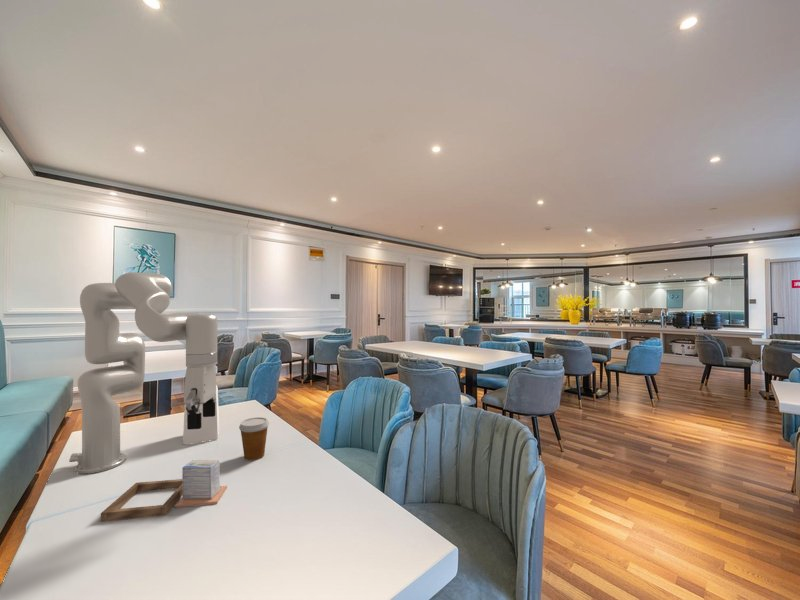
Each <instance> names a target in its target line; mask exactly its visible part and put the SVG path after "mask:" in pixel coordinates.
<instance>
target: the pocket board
mask: <svg viewBox="0 0 800 600" xmlns="http://www.w3.org/2000/svg"><path fill="white" fill-rule="evenodd" d="M175 489H176V490H175ZM163 490H165V491H166V490H175V491H174V492H173V493H172V494H171V496H170V497H168V499H166V501H165V502H164V503H163V504H158V505H147V506H146V505H145V506H136V507H128V508H127V507H126V508H124V507H123V506H124V505H125V504H126V503H128V502H129V501H130V500H131V499H132V498H133V497H134V496H135V495H137V494H138V493H140V492H150V491H163ZM182 497H183V479H182V478H177V479H176V478H175V479H166V480H165V479H163V480H155V481H152V480H151V481H143V482H142V481H140V482H135V483H134V484H132V486H131V487H129V488H128V489H127V490H126V491H125V492H124V493H122V494H121V495H120V496H119V497H118V498H117V499H116V500H115V501H113V502H112V503H110V504H109V506H107V508H105V509H104V510H102V512H100V522H109V521H119V520H120V521H121V520H131V519H141V518H142V519H143V518H152V517H162V516H167V515H168V513H169V512H170V511H171V510H172V509H173V508H174V507H175V506H176V504H177V503H178V502H179V500H180V499H181V498H182Z"/></svg>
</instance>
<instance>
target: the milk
mask: <svg viewBox="0 0 800 600" xmlns="http://www.w3.org/2000/svg"><path fill="white" fill-rule="evenodd" d="M215 398H216V401H215V416H214V417H203V404H202V406H201V410H200V413H201V425H202V427H201V428H200V429H187V410H186V405H185V404H184V409H183V410H184V412H183V413H184V414H183V415H184V416H183V433H182V445H183V444H188V445H191V444H190V443H194V444H197V443H196V442H201V443H203V442H202V441H207V442H210V441H209V440H214V441H216V440H215V439H218V440H219V435H218V434H219V433H220V415H219V414H220V413H219V411H220V410H219V408H220V407H219V388H218V384H216V394H215ZM205 403H206V402H205ZM195 406H196V408H197V406H198V405H195Z"/></svg>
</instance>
